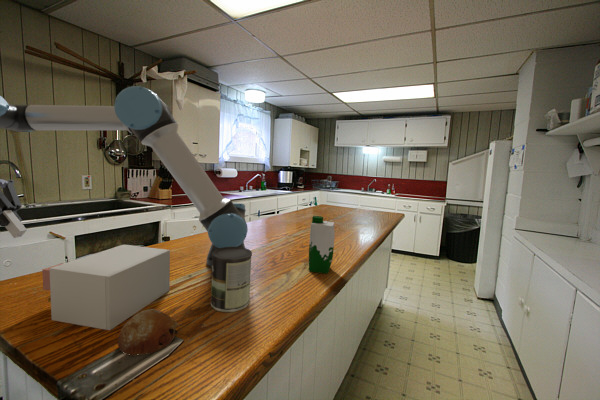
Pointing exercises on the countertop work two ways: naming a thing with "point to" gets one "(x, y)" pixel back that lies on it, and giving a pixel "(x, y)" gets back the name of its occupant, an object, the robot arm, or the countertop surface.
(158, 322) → the bread roll
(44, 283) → the brick key
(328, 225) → the milk carton
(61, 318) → the plain grey box
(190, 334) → the countertop surface
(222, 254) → the coffee can
